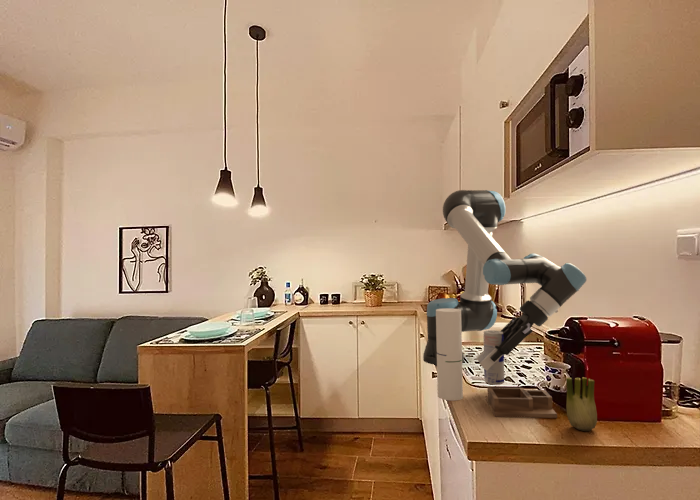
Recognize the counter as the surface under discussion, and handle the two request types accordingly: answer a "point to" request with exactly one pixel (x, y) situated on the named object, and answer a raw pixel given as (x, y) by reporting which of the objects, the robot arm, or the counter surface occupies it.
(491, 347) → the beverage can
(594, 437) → the counter surface
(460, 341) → the cylindrical container
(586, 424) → the fennel bulb
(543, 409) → the socket board
